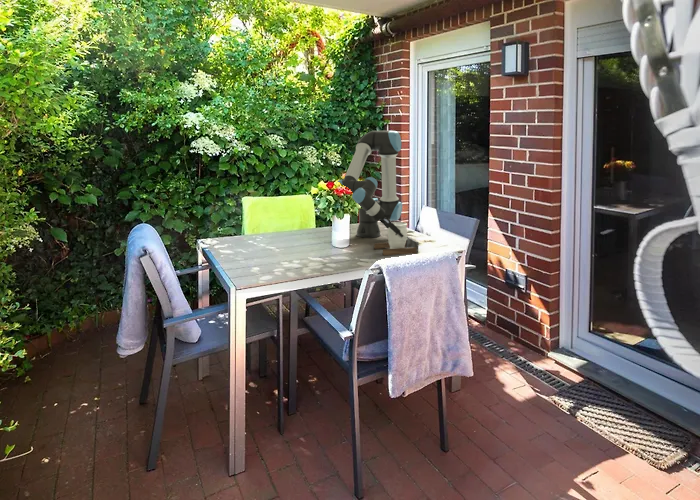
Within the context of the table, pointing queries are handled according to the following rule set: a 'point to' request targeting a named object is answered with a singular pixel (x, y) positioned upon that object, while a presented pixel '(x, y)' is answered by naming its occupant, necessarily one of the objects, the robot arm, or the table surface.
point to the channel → (410, 244)
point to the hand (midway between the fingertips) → (402, 238)
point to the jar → (394, 239)
